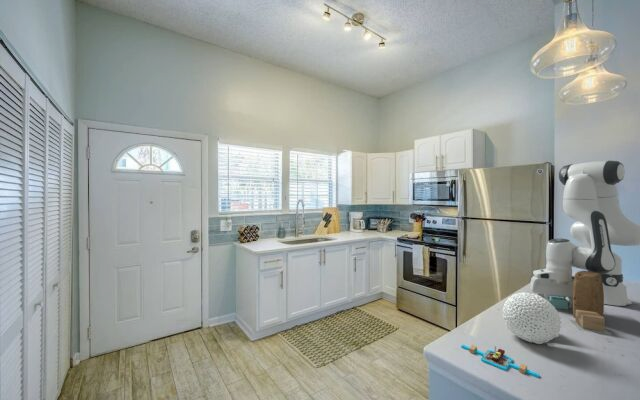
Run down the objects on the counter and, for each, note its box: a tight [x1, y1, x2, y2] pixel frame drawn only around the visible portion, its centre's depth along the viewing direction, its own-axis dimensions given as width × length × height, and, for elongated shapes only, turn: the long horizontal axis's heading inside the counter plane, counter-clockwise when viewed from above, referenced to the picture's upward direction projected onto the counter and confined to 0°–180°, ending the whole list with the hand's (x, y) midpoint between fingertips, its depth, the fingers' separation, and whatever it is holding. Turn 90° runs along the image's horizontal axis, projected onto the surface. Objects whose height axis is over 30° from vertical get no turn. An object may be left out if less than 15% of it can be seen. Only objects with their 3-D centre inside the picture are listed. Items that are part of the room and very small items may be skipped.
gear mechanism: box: [461, 344, 540, 379], centre depth 81 cm, size 20×5×9 cm
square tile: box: [569, 319, 613, 336], centre depth 101 cm, size 9×9×1 cm
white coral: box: [502, 291, 562, 345], centre depth 96 cm, size 20×18×16 cm
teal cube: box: [550, 296, 569, 310], centre depth 120 cm, size 5×5×5 cm
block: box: [572, 270, 605, 319], centre depth 108 cm, size 11×8×20 cm
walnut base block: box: [575, 310, 606, 332], centre depth 101 cm, size 6×6×5 cm
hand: (558, 305), depth 120 cm, fingers closed on teal cube, 5 cm apart
